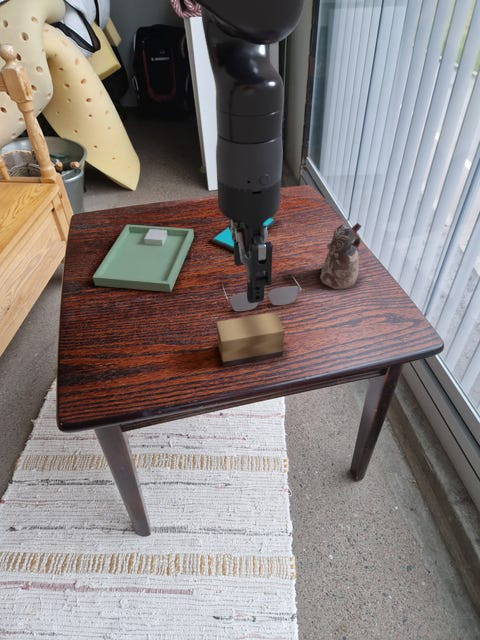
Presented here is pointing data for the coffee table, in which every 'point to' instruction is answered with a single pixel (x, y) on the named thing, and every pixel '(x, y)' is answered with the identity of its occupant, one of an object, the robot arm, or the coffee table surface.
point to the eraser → (250, 338)
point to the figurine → (342, 258)
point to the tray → (144, 260)
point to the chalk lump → (155, 237)
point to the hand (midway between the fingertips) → (248, 281)
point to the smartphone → (225, 236)
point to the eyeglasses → (276, 297)
